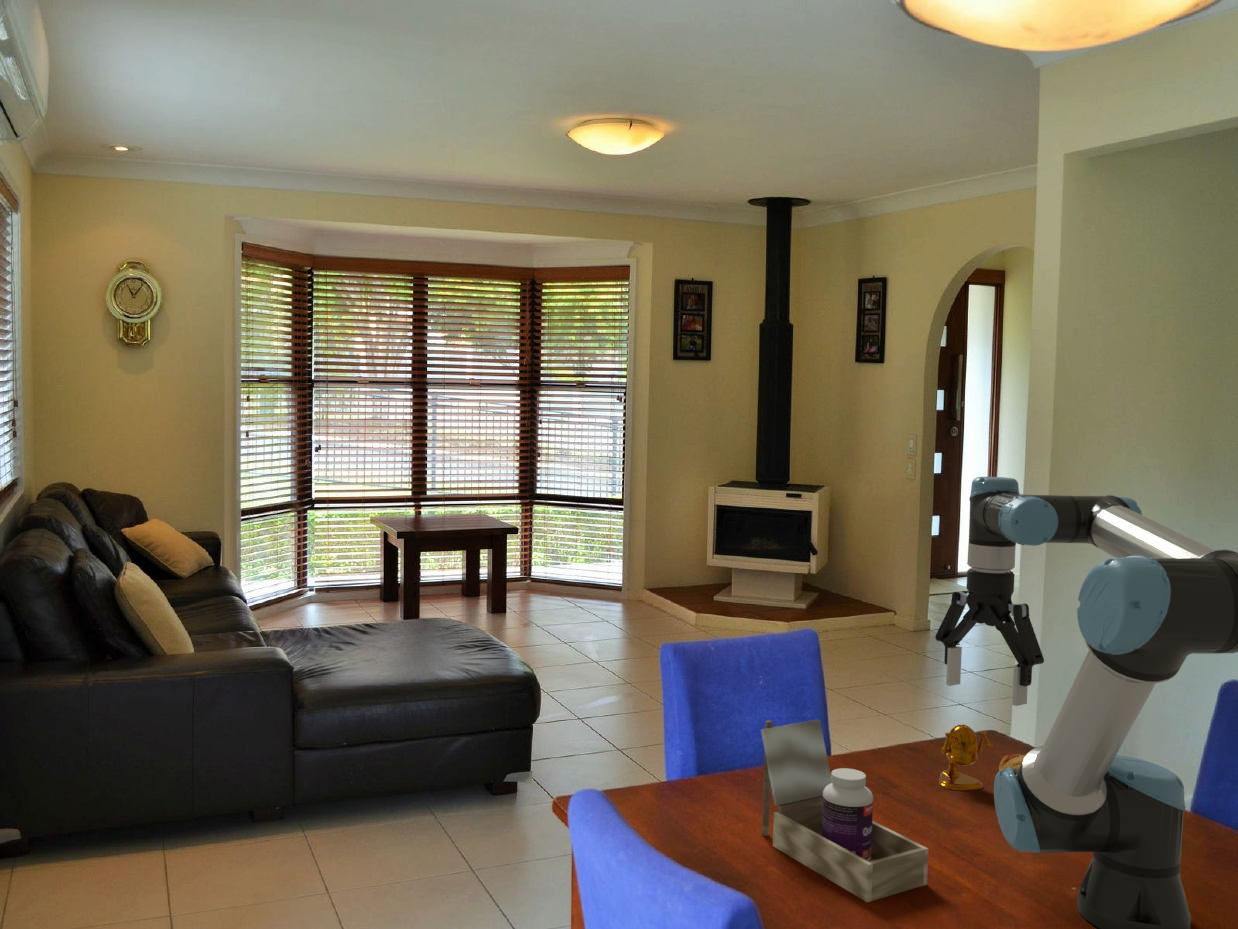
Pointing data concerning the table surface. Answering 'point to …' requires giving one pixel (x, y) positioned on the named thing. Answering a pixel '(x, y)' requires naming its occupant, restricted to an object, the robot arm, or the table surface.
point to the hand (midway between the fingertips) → (985, 694)
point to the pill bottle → (848, 812)
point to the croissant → (1011, 761)
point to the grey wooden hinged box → (797, 827)
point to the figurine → (961, 758)
